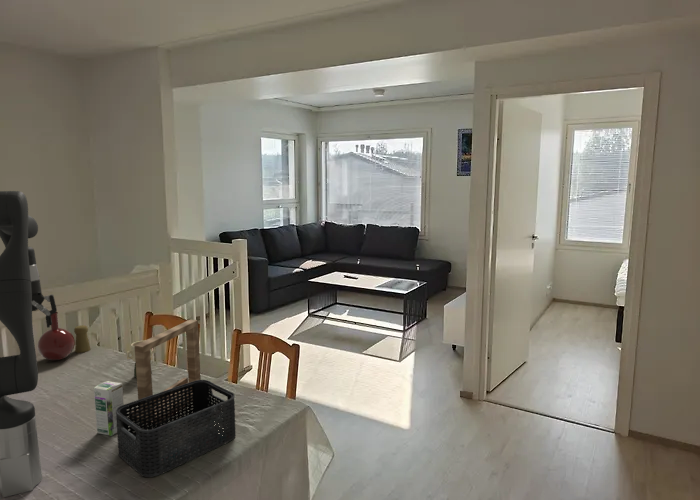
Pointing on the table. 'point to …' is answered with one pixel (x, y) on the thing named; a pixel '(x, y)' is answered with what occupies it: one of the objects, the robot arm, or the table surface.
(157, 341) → the wooden frame stand
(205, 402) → the storage bin
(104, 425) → the syrup box
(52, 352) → the round-bottom flask
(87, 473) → the table surface
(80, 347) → the cork
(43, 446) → the table surface
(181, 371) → the table surface
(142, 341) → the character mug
